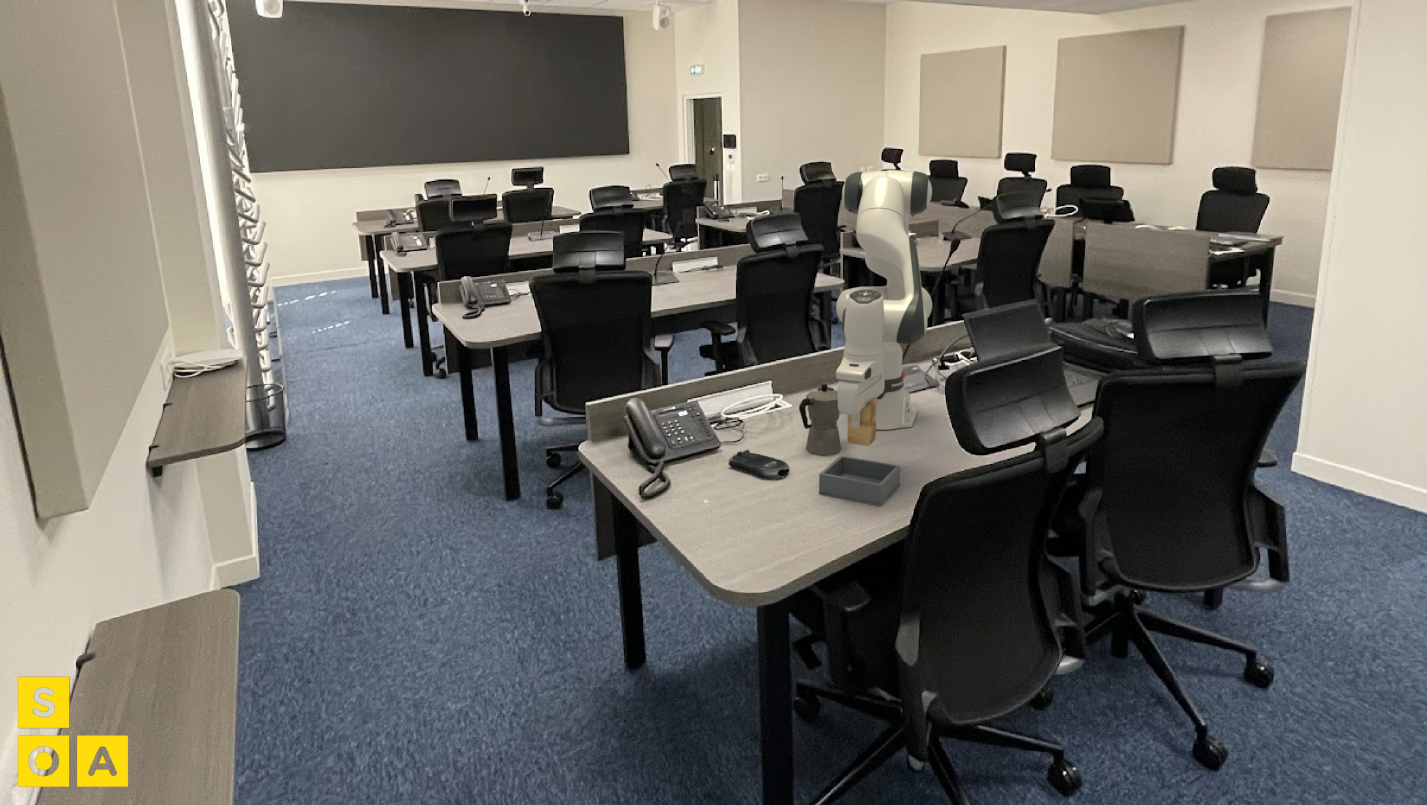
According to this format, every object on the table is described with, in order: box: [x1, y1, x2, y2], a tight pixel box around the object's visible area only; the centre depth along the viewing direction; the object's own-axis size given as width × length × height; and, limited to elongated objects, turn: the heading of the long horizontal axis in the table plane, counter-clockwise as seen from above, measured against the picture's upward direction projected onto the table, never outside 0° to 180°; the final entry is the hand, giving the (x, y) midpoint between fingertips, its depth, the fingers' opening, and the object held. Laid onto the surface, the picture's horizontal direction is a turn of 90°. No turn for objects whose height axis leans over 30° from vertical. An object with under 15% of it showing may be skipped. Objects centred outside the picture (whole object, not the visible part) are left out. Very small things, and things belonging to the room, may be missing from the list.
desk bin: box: [818, 454, 901, 507], centre depth 203 cm, size 13×15×5 cm
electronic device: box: [727, 449, 790, 480], centre depth 216 cm, size 9×6×15 cm
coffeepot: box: [798, 383, 842, 457], centre depth 225 cm, size 15×9×18 cm, turn 129°
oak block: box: [846, 398, 877, 447], centre depth 198 cm, size 5×5×10 cm
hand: (861, 422), depth 198 cm, fingers closed on oak block, 5 cm apart
